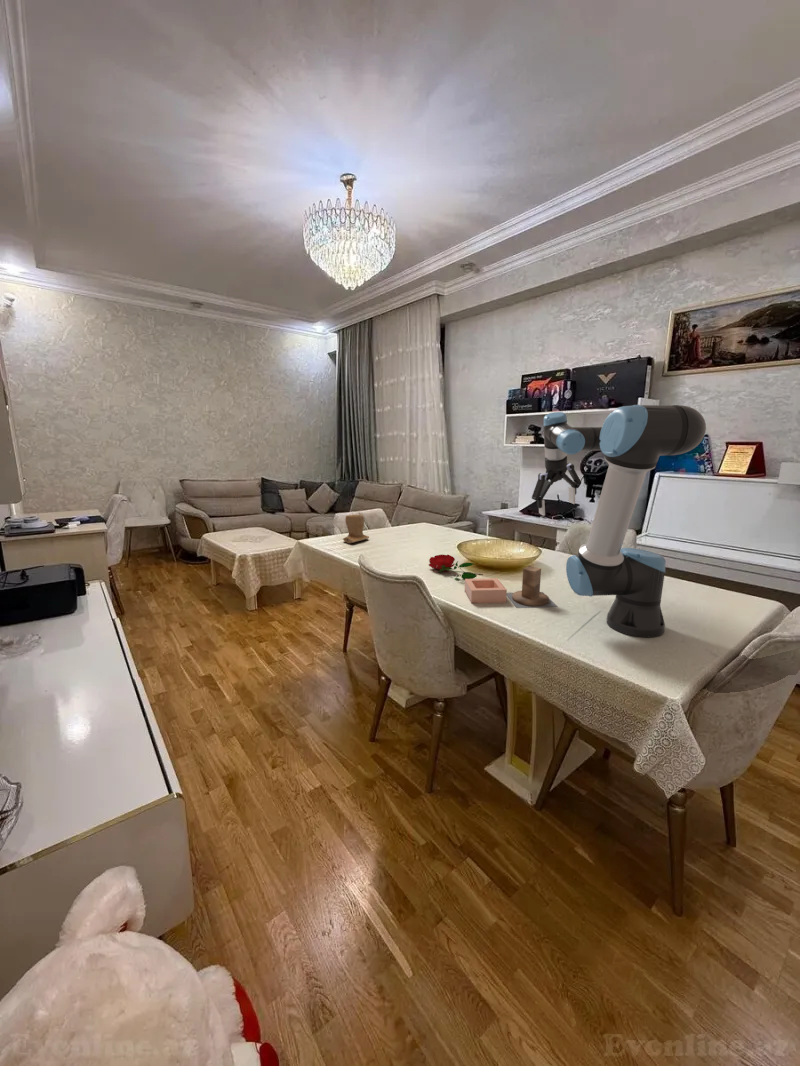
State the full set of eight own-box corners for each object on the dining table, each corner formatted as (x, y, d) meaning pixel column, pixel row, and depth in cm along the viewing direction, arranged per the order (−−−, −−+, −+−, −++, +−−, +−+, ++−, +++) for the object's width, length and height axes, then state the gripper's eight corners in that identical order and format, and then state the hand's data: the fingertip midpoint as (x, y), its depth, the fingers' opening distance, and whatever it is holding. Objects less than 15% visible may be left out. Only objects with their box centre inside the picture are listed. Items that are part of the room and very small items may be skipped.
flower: (487, 556, 163) (432, 547, 186) (473, 572, 158) (419, 561, 181) (495, 574, 167) (440, 563, 190) (481, 590, 162) (427, 577, 185)
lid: (554, 599, 149) (556, 568, 147) (539, 609, 140) (541, 576, 138) (522, 590, 157) (524, 561, 154) (506, 600, 148) (507, 569, 146)
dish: (506, 603, 146) (506, 589, 145) (471, 604, 146) (471, 590, 145) (496, 591, 158) (497, 578, 157) (464, 591, 158) (464, 578, 157)
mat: (558, 608, 142) (558, 607, 142) (516, 609, 142) (516, 608, 142) (542, 593, 156) (542, 592, 156) (504, 593, 155) (504, 592, 155)
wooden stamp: (356, 536, 245) (355, 511, 242) (372, 539, 238) (371, 513, 235) (337, 542, 234) (336, 515, 230) (353, 545, 226) (352, 517, 223)
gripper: (577, 443, 160) (577, 494, 170) (519, 464, 154) (523, 515, 165) (592, 448, 153) (591, 501, 164) (532, 470, 148) (535, 523, 159)
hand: (557, 508), depth 164 cm, fingers open, 13 cm apart
